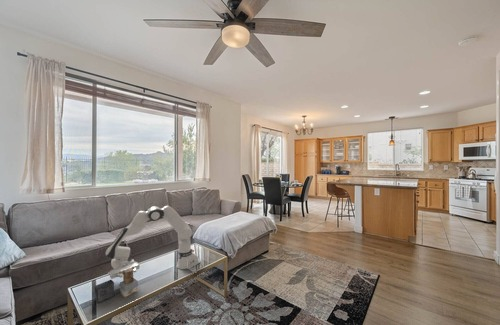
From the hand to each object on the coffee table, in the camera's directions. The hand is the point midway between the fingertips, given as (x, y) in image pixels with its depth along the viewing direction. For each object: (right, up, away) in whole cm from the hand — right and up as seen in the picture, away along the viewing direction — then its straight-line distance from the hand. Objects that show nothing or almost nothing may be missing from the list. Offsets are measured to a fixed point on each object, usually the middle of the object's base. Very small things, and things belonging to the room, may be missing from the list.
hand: (128, 273), depth 157 cm
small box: (-13, -14, -7) cm, 21 cm away
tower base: (0, -14, +1) cm, 15 cm away
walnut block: (0, -6, 0) cm, 6 cm away
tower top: (0, -10, +1) cm, 11 cm away
